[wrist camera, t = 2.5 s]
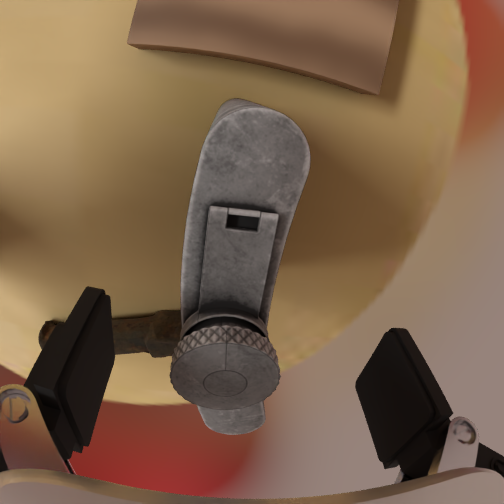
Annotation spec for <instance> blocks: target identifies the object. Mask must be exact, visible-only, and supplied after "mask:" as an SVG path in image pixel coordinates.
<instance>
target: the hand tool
mask: <svg viewBox="0 0 504 504" xmlns="http://www.w3.org/2000/svg"><path fill="white" fill-rule="evenodd" d="M55 326H56V325H55V324H54V323H53V321H45V324H44V325H43V327H42V328H41V330H40V333H39V344H40V346H41V349H43V347H44V346H45V344H46V342H47V340H48V338H49V337H50V335H51V333H52V331H53V330H54V328H55ZM112 329H113V340H114V349H115V355H117V354H129V353H140V352H146V353H150V354H151V355H152V357H154V358H156V357H166V356H172V355H173V353H174V348H176V347H177V345H178V343H179V342H180V333H181V330H182V322H181V311H157V312H156V313H155V315H153V316H150V317H144V318H136V319H134V318H132V319H113V320H112ZM182 340H183V338H182Z"/></svg>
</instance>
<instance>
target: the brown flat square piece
mask: <svg viewBox="0 0 504 504" xmlns="http://www.w3.org/2000/svg"><path fill="white" fill-rule="evenodd" d="M398 4H399V0H138V1H137V4H136V8H135V12H134V16H133V20H132V24H131V28H130V32H129V36H128V41H127V44H129V45H131V46H133V47H136V48H138V49H150V50H164V51H175V52H184V53H193V54H201V55H208V56H215V57H221V58H227V59H233V60H238V61H244V62H249V63H254V64H259V65H263V66H268V67H272V68H277V69H281V70H285V71H289V72H293V73H297V74H300V75H304V76H308V77H311V78H315V79H318V80H322V81H325V82H328V83H332V84H335V85H338V86H341V87H344V88H347V89H350V90H353V91H356V92H359V93H362V94H373V95H379V92H380V88H381V84H382V80H383V76H384V72H385V67H386V63H387V59H388V54H389V49H390V45H391V40H392V35H393V30H394V25H395V20H396V15H397V9H398Z"/></svg>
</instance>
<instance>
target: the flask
mask: <svg viewBox="0 0 504 504" xmlns="http://www.w3.org/2000/svg"><path fill="white" fill-rule="evenodd" d="M310 160H311V156H310V149H309V145H308V142H307V139H306V137H305V135H304V134H303V132H302V130H301V129H300V128H299V126H298V125H297V124H296V123H295V122H294V121H293V120H292V119H290V118H289V117H287V116H286V115H284V114H282V113H280V112H278V111H276V110H273V109H270V108H267V107H265V106H262V105H259V104H256V103H253V102H250V101H247V100H243V99H239V98H237V99H230V100H228V101H226V102H225V103H223V104H222V105H221V107H220V108H219V110H218V112H217V114H216V117H215V119H214V121H213V123H212V125H211V127H210V130H209V132H208V134H207V136H206V139H205V141H204V144H203V146H202V150H201V154H200V158H199V162H198V166H197V170H196V174H195V178H194V182H193V187H192V193H191V198H190V203H189V208H188V214H187V220H186V228H185V236H184V245H183V255H182V270H181V322H182V330H181V333H180V342H179V343H178V345H177V347H176V348H174V353H173V355H172V363H171V372H170V378H171V383H172V385H173V388H174V389H175V390H176V391H177V393H178V394H179V395H181V396H182V397H183V398H184V399H185V400H188V401H189V402H191V403H192V404H196V405H197V406H198V409H199V412H200V414H201V416H202V418H203V420H204V422H205V424H206V425H207V426H208V427H209V428H211V429H212V430H214V431H216V432H219V433H223V434H234V435H235V434H244V433H248V432H251V431H254V430H256V429H258V428H259V427H261V426H262V425H263V423H264V422H265V410H264V402H263V400H265V399H266V398H267V397H268V396H270V395H271V394H272V392H274V391H275V390H276V387H277V386H278V384H279V380H280V377H281V376H280V374H279V373H280V368H279V365H278V357H277V355H276V350H275V349H274V348H273V346H272V344H271V343H270V341H269V338H268V331H267V323H268V317H269V311H270V305H271V300H272V295H273V290H274V286H275V282H276V277H277V273H278V269H279V265H280V261H281V257H282V254H283V250H284V247H285V243H286V239H287V236H288V232H289V229H290V226H291V223H292V220H293V217H294V214H295V211H296V208H297V205H298V202H299V199H300V197H301V194H302V191H303V188H304V185H305V183H306V180H307V177H308V173H309V170H310ZM182 338H183V340H182ZM266 338H267V339H266Z"/></svg>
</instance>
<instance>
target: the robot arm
mask: <svg viewBox="0 0 504 504" xmlns="http://www.w3.org/2000/svg"><path fill="white" fill-rule="evenodd" d="M114 360H115V349H114V340H113V329H112V316H111V300H110V296H109V295H105V291H104V290H103V289H98V288H93V287H86V288H85V290H84V292H83V293H82V295H81V297H80V298H79V300H78V302H77V303H76V305H75V307H74V308H73V310H72V312H71V314H70V315H69V317H68V319H67V321H66V322H65V323H63V322H59V323H58V324H57V325H56V326H55V328H54V330H53V331H52V333H51V335H50V337H49V338H48V340H47V342H46V344H45V346H44V347H43V349H42V351H41V353H40V355H39V357H38V359H37V360H36V362H35V364H34V366H33V368H32V370H31V372H30V374H29V376H28V378H27V380H26V382H25V384H24V386H22V385H17V384H10V385H6V386H3V387H1V388H0V504H504V457H503V456H502V455H500V454H499V453H496V452H495V451H493V450H491V449H490V448H488V447H486V446H485V445H483V444H481V443H479V433H478V429H477V428H476V426H475V425H474V424H473V423H472V421H470V420H469V419H467V418H465V417H455V418H454V419H452V421H450V419H449V417H450V416H451V415H452V414H453V412H452V410H451V408H450V406H449V404H448V402H447V400H446V398H445V396H444V394H443V392H442V390H441V388H440V387H439V385H438V383H437V381H436V379H435V377H434V375H433V374H432V372H431V370H430V368H429V366H428V365H427V363H426V361H425V359H424V358H423V356H422V354H421V352H420V351H419V349H418V347H417V345H416V344H415V342H414V340H413V339H412V337H411V335H410V334H409V332H408V331H407V330H406V329H403V328H391V329H390V330H389V331H388V332H386V333H385V334H384V336H383V337H382V339H381V341H380V343H379V344H378V346H377V348H376V349H375V351H374V353H373V354H372V356H371V358H370V359H369V361H368V363H367V364H366V366H365V367H364V369H363V371H362V372H361V374H360V375H359V377H358V379H357V381H356V386H355V387H356V391H357V394H358V397H359V400H360V402H361V406H362V409H363V411H364V414H365V418H366V421H367V424H368V427H369V430H370V433H371V436H372V439H373V442H374V445H375V449H376V452H377V455H378V458H379V460H380V461H381V462H383V465H384V469H387V468H393V467H397V466H398V465H400V468H401V469H400V472H399V474H398V476H397V478H396V481H395V483H394V484H392V485H388V486H383V487H378V488H372V489H367V490H361V491H355V492H349V493H341V494H333V495H324V496H314V497H301V498H284V499H230V498H212V497H200V496H188V495H181V494H173V493H165V492H159V491H152V490H146V489H140V488H135V487H129V486H124V485H120V484H114V483H111V482H106V481H102V480H97V479H92V478H88V477H84V476H79V475H76V474H75V472H74V470H73V468H72V466H71V464H70V463H69V460H68V459H70V458H71V456H72V452H73V451H76V452H79V453H82V450H83V446H89V444H90V441H91V437H92V433H93V430H94V426H95V422H96V419H97V416H98V412H99V409H100V406H101V402H102V399H103V396H104V393H105V389H106V386H107V383H108V380H109V377H110V374H111V371H112V368H113V365H114Z"/></svg>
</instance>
